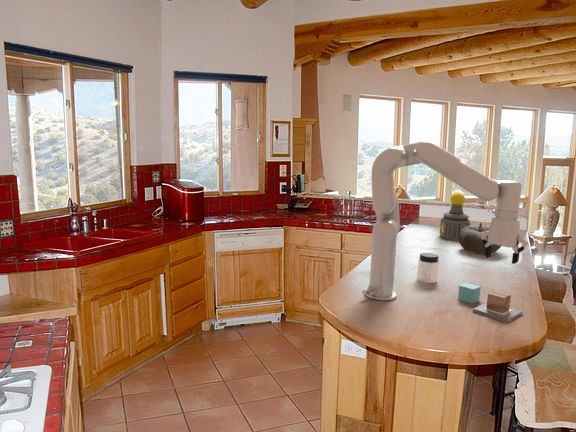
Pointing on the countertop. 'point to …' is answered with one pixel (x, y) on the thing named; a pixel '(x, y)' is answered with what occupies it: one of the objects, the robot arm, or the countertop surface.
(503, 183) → the robot arm
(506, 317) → the grey square plate
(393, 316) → the countertop surface
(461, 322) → the countertop surface
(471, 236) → the gourd
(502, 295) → the walnut block
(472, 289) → the teal block
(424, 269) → the jar
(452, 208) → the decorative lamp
